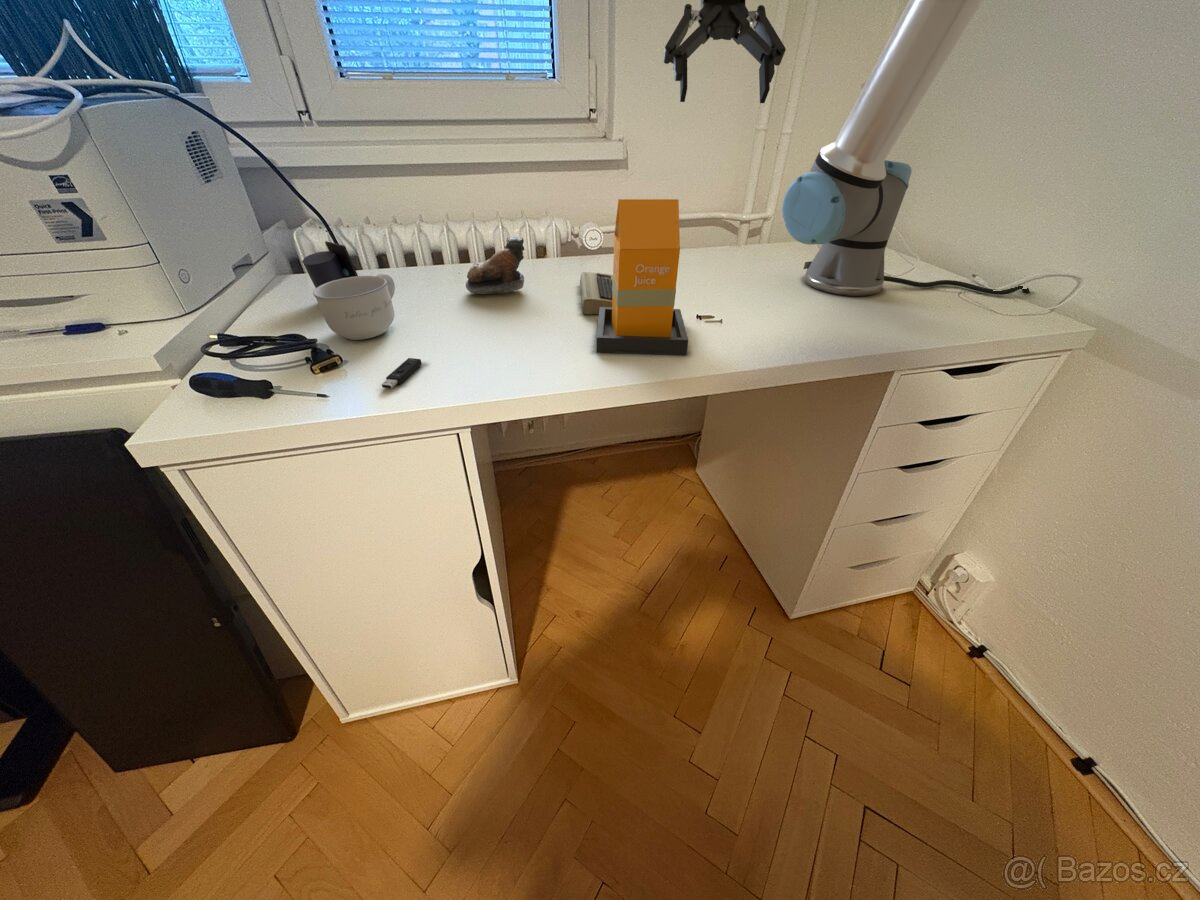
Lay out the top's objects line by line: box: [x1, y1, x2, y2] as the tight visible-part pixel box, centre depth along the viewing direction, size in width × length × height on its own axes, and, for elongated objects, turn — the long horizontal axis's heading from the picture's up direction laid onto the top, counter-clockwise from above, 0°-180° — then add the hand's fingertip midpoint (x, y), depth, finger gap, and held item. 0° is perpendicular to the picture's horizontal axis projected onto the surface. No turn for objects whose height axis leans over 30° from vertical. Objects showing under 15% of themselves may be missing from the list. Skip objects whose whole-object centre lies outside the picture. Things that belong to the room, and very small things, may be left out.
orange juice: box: [612, 198, 681, 337], centre depth 74 cm, size 8×9×20 cm
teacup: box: [312, 273, 396, 341], centre depth 78 cm, size 14×11×8 cm
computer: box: [579, 271, 613, 315], centre depth 93 cm, size 16×8×3 cm, turn 3°
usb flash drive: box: [381, 357, 423, 389], centre depth 67 cm, size 8×2×1 cm, turn 169°
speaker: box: [301, 240, 359, 289], centre depth 88 cm, size 8×6×10 cm
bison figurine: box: [465, 236, 525, 295], centre depth 93 cm, size 12×7×10 cm, turn 103°
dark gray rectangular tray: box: [595, 307, 689, 356], centre depth 79 cm, size 14×13×2 cm
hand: (724, 96), depth 81 cm, fingers open, 13 cm apart
